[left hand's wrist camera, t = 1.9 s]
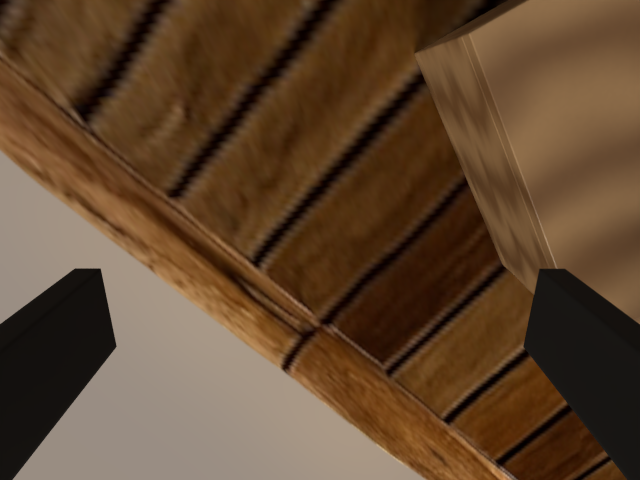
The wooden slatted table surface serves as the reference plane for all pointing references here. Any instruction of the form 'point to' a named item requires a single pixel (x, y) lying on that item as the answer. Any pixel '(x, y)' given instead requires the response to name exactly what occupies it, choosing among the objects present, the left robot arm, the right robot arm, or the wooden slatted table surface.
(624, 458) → the left robot arm
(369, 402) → the wooden slatted table surface
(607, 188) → the cabinet
